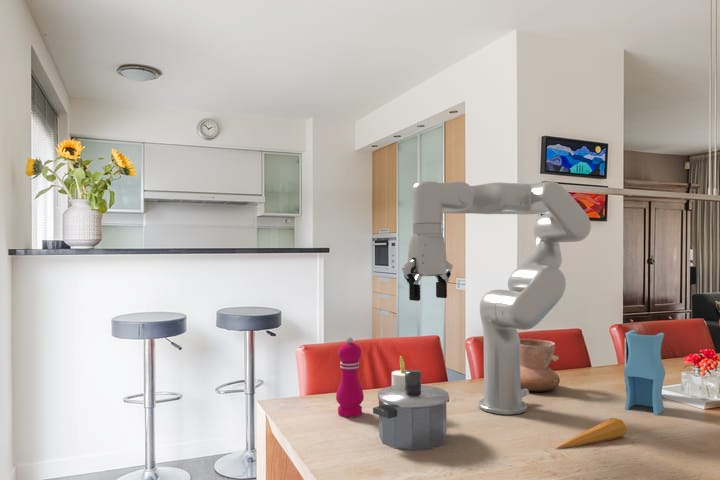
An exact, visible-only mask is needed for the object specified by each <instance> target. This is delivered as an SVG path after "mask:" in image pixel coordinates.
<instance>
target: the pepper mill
mask: <svg viewBox="0 0 720 480" xmlns="http://www.w3.org/2000/svg"><path fill="white" fill-rule="evenodd" d="M353 341H354V340H353V338H352V337H351V336H348V337H347V338H346V339H345V343H343V344H341V345H340V346H339V349H338V351H337V355H338V359H339V360H340V362H339V364H340V366H339V367H340V369H341V381H340V383H339V385H338V388H337V390H336V392H335V393H336V394H335V400H336V402H337V403H338V407H337V414H338V415H339V416H340V417H343V418H357V417H360V416H361V415H362V414H363V407H362V406H361V404H362V403H363V401H364V397H365V396H364V392H363V388H362V386H361V384H360V381H359V378H358V368H359V367H360V361H359V359H360V358H361V355H362V352H361V351H362V350H361V347H360V346H359V345H358V344H356V343H354V342H353Z"/></svg>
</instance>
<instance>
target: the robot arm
mask: <svg viewBox="0 0 720 480" xmlns="http://www.w3.org/2000/svg"><path fill="white" fill-rule="evenodd" d="M411 193H412V236H410V239H409V243H408V249H407V250H408V251H407V262H406V263H405V264H404V265H402V267H401V271H402V273H403V275H404V279H405V280H406V282H407V285H408V287H409V288H408V289H409V291H408V292H409V293H408V295H409V296H408V297H409V301H415V302H419V301H420V300H421V284H419V283H420V280H421V279H422V277H435V279H436V280H437V281H436V283H435V297H436V298H437V299H438V298H440V299H447V297H448V283H449V278H450V277H451V273H452V270H453V267H454V266H453V264H452V263H451V262H449V261H448V260H447V249H446V243H445V242H446V241H445V237H444V223H443V222H444V218H443V217H444V216H443V214H477V215H525V216H526V215H530V216H531V215H540V216H538V218H537V219H536V221H535V222H534V225H533V226H534V227H533V236H534V247H533V249H532V251H531V253H530V254H529V255H528V256H527V257H526V258H525V259H523V261H522V262H521V263H520V264H519V266H517V267H516V269H515V270H514V271H512V272H511V274H510V275H509V278H508V280H507V287H508V290H507V289H493V290H489V291H488V292H486V293H485V294H484V295H483V296H482V298H481V300H480V303H479V315H480V320H481V325H482V331H483V391H484V392H483V397H484V398H482V399H479V401H478V408H479V409H480V410H482V411H484V412H487V413H490V414H491V413H492V414H495V415H496V414H497V415H519V414H523V413H525V412H526V411H527V410H528V405H527V403H526V402H524V401H523V398H524V397H526V396H529V394H530V391H529V390H528V389H526V388H525V389H521V374H520V339H521V338H520V336H519V335H520V334H519V332H518V330H521V331H522V330H524V331H525V330H526V331H527V330H531V329H533V328H534V327H536V326H537V325H538V324H539V323H540V322H542V320H543V319H545V317H546V316H547V315H548V314H549V312H550V311H552V309H554V307H555V306H556V305H557V304H558V302H559V301H560V300H561V299H562V298H563V295H564V293H565V291H566V285H567V282H566V280H567V279H566V277H565V275H564V272H563V271H562V270H561V269H560V267H561V266H562V263H563V262H562V261H563V258H562V253H561V246H560V243H575V242H581V241H583V240H585V239H586V238H587V237H588V236H589V235H590V233H591V228H592V227H591V226H592V225H591V220H590V218H589V215H588V214H587V213H586V212H585V210H584V209H583V208H582V207H581V205H580V204H579V203H578V201H576V200H575V198H574V197H573V196H572V195H571V193H570V192H568V190H567V189H566V188H565V187H564V186H562V185H561V184H559V183H558V182H556V181H551V180H549V181H543V182H536V183H517V182H516V183H515V182H513V183H512V182H489V183H482V184H477V185H476V184H475V185H470V184H469V183H466V182H464V181H450V182H438V181H418V182H415V183H414V184H413V186H412V191H411ZM541 214H542V215H541Z"/></svg>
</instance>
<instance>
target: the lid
mask: <svg viewBox="0 0 720 480" xmlns="http://www.w3.org/2000/svg"><path fill="white" fill-rule="evenodd" d="M405 370H406V371H405V385H395V386H392V385H390V386H385V387H384V388H381V389H380V390H378V392H377V393H378V394H377V399H378V402H379V401H380V402H382V403H384V404H387V405H390V406H394V407H400V408H412V409H420V408H431V407H437V406H441V405H443V404H445V403H446V404H447V403H449V402H448V400H449V401H450V396H449V392H448V391H447V390H445V389H443V388H440V387H436V386H433V385H432V386H431V385H426V384H422V372H421V370H419V369H405Z"/></svg>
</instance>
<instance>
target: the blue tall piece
mask: <svg viewBox="0 0 720 480" xmlns="http://www.w3.org/2000/svg"><path fill="white" fill-rule="evenodd" d="M664 336H665V332H660V333H657V334H656V335H655V334H654V335H647V334H637V332H636V330H635V329H632V330H629V331H627V332H625V337H626V338H627V342H628V349H629V355H628V361H627V364H626V367H625V366H624V369H623V370H624V371H623V377H624V382H625V381H626V386H627V396H626V401H625V406H624V410H629V409H631V408H632V407H634V406H635V405H636V406H638V405H639V406H644V407H645V406H646V407H650V408H652V409H653V415H654V416H659V415H660V414H661V413H662V412H664V410H665V407H664V402H663V385H664V382H665V376H666V369H665V367H664V366H665V365H664V364H663V360H662V345H663V344H662V342H663V340H664Z"/></svg>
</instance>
